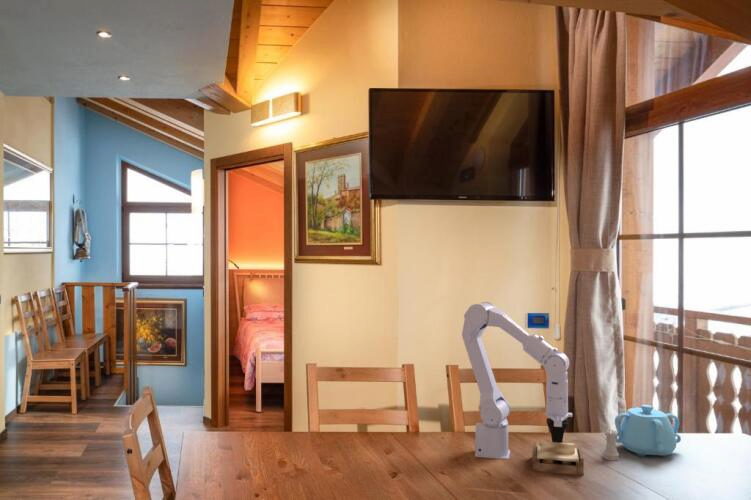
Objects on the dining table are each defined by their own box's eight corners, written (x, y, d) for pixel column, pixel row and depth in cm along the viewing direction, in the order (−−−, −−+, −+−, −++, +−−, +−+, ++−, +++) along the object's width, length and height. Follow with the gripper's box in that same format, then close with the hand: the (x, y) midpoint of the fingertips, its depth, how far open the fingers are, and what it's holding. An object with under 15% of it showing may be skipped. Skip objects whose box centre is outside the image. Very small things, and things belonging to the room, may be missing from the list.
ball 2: (561, 466, 169) (561, 455, 169) (560, 463, 172) (560, 452, 172) (572, 467, 168) (572, 456, 168) (572, 464, 171) (572, 453, 171)
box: (532, 471, 166) (532, 454, 166) (532, 458, 176) (532, 442, 176) (583, 476, 162) (583, 458, 162) (580, 462, 173) (580, 445, 173)
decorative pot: (688, 453, 181) (688, 407, 181) (659, 464, 172) (659, 415, 172) (636, 440, 194) (636, 396, 194) (606, 449, 185) (606, 403, 185)
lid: (537, 458, 166) (537, 446, 166) (537, 447, 175) (537, 436, 175) (578, 461, 163) (578, 450, 163) (576, 450, 172) (576, 439, 172)
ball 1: (542, 468, 167) (542, 457, 167) (542, 464, 170) (542, 453, 170) (553, 469, 167) (553, 458, 167) (553, 465, 170) (553, 454, 170)
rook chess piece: (620, 462, 174) (620, 433, 174) (604, 461, 174) (604, 432, 174) (617, 457, 178) (617, 429, 178) (601, 456, 179) (601, 428, 179)
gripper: (573, 403, 163) (573, 455, 163) (570, 391, 177) (570, 439, 177) (546, 402, 165) (546, 453, 165) (545, 390, 179) (545, 437, 179)
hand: (557, 446), depth 171 cm, fingers closed
